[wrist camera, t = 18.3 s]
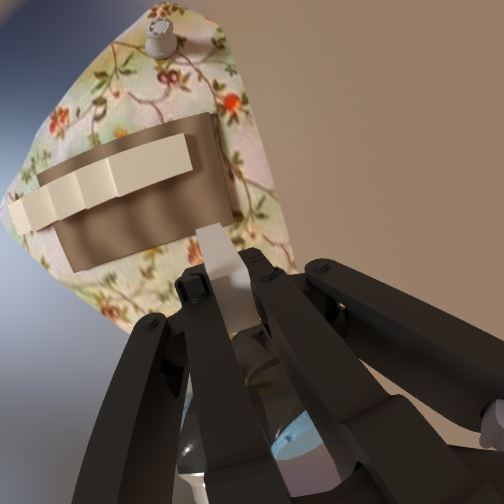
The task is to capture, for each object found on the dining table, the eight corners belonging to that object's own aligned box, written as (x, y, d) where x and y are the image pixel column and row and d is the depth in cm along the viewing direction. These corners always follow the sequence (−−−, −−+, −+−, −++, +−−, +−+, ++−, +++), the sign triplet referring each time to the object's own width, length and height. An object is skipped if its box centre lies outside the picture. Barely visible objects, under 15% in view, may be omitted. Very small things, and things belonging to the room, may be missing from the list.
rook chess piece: (162, 28, 27) (160, 4, 20) (184, 44, 29) (187, 23, 22) (138, 49, 27) (131, 29, 20) (160, 65, 29) (157, 48, 22)
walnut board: (207, 112, 34) (208, 111, 33) (232, 219, 41) (234, 222, 40) (41, 173, 30) (36, 175, 29) (76, 268, 37) (74, 273, 36)
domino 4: (149, 143, 31) (74, 170, 26) (159, 179, 33) (87, 209, 28) (146, 144, 32) (74, 170, 27) (155, 179, 34) (86, 207, 30)
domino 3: (117, 154, 30) (46, 184, 26) (127, 190, 32) (58, 220, 28) (115, 154, 31) (47, 183, 27) (125, 189, 34) (59, 219, 29)
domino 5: (183, 132, 32) (107, 157, 27) (192, 169, 34) (119, 197, 29) (179, 134, 33) (106, 157, 28) (187, 169, 35) (117, 196, 30)
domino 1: (57, 179, 29) (7, 205, 27) (68, 213, 31) (18, 236, 29) (61, 177, 30) (12, 203, 29) (71, 210, 32) (23, 232, 31)
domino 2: (85, 166, 29) (20, 197, 25) (96, 201, 32) (33, 232, 27) (85, 166, 31) (22, 196, 26) (95, 200, 33) (34, 230, 28)
